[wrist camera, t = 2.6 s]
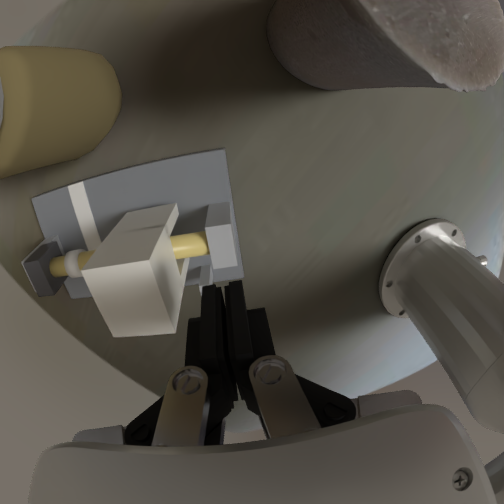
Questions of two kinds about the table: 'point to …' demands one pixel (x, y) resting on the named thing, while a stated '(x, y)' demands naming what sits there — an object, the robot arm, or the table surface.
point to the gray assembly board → (132, 199)
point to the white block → (138, 274)
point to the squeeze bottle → (53, 105)
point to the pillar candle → (389, 42)
